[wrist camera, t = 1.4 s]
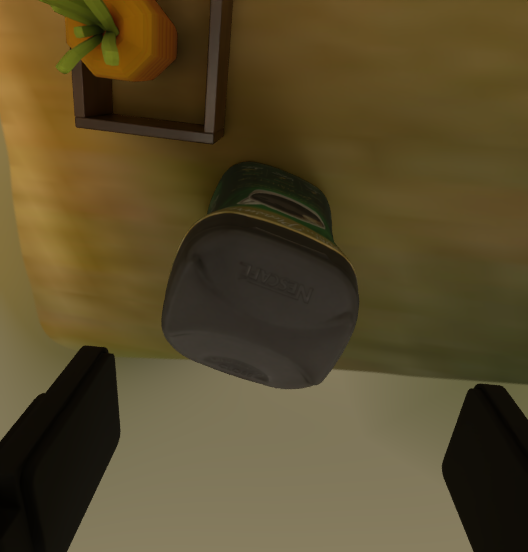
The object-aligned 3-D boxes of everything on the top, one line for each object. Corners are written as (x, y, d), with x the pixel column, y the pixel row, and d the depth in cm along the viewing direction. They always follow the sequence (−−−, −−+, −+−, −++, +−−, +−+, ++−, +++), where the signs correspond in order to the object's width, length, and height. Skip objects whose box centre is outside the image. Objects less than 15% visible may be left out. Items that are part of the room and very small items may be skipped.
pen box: (97, -57, 28) (60, -86, 24) (236, -40, 28) (226, -65, 24) (104, 122, 33) (75, 127, 28) (223, 136, 33) (213, 144, 28)
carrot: (208, 73, 31) (146, 61, 17) (146, 93, 32) (41, 96, 18) (185, -3, 29) (96, -83, 16) (120, 20, 30) (-19, -37, 16)
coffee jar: (200, 235, 36) (126, 364, 19) (230, 147, 33) (173, 208, 16) (303, 274, 37) (319, 429, 20) (342, 192, 34) (398, 294, 17)
